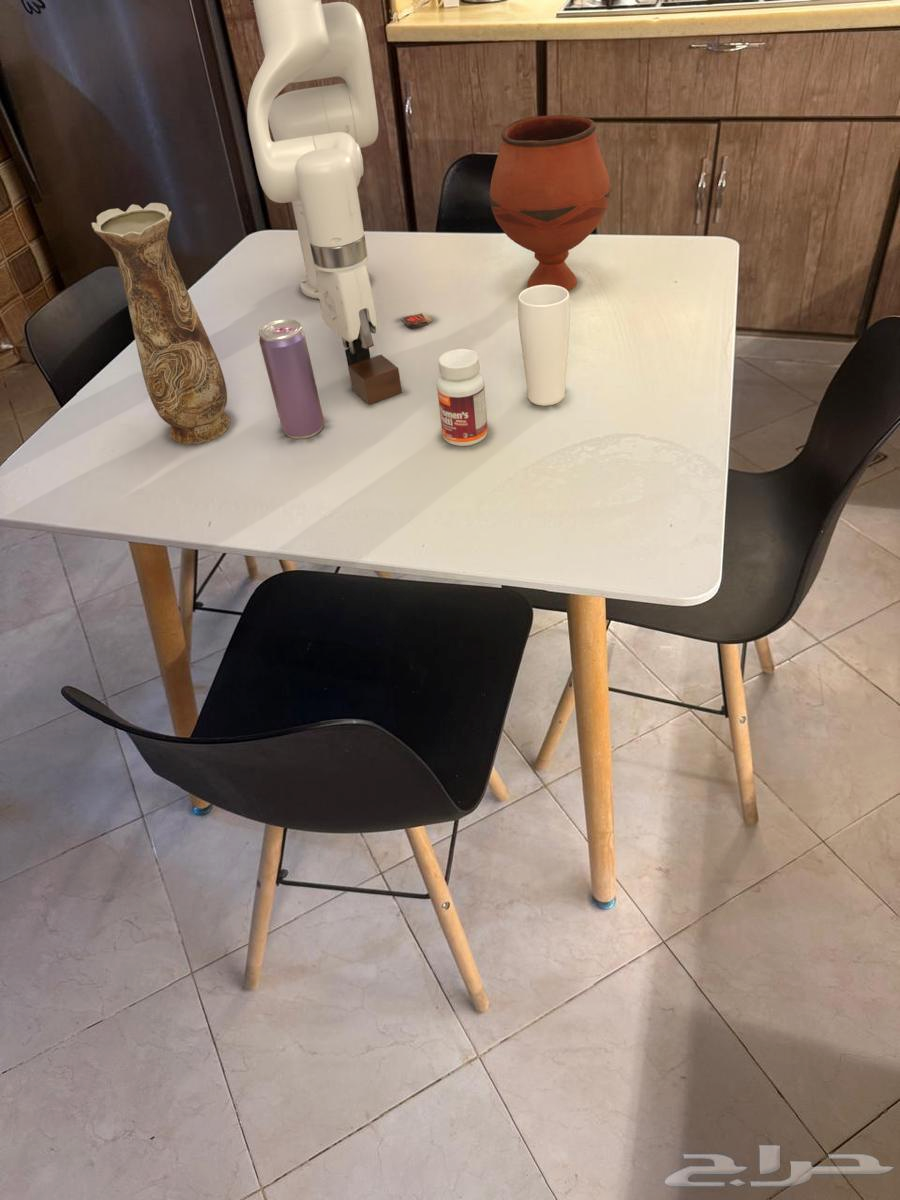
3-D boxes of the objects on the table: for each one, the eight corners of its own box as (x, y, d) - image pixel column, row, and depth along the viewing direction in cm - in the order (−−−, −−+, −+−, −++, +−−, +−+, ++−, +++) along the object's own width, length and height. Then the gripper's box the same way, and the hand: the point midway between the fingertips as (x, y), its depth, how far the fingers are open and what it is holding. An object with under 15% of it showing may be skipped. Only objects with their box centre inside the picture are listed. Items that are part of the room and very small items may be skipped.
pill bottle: (435, 443, 116) (425, 366, 109) (454, 420, 120) (446, 344, 113) (477, 450, 114) (470, 372, 107) (495, 426, 118) (489, 349, 111)
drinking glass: (574, 387, 124) (574, 284, 114) (565, 411, 119) (565, 306, 109) (527, 384, 126) (523, 283, 116) (517, 409, 121) (512, 305, 111)
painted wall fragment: (412, 330, 142) (412, 327, 142) (396, 320, 145) (396, 317, 145) (436, 321, 144) (436, 318, 143) (420, 312, 147) (420, 309, 147)
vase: (229, 403, 130) (166, 193, 110) (243, 436, 123) (178, 218, 103) (160, 421, 128) (83, 211, 108) (170, 456, 121) (89, 237, 100)
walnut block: (352, 390, 130) (347, 366, 127) (385, 378, 131) (381, 354, 129) (368, 405, 126) (364, 380, 123) (402, 392, 128) (398, 367, 125)
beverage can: (317, 441, 120) (294, 339, 110) (277, 440, 121) (250, 339, 111) (330, 418, 124) (308, 318, 114) (291, 417, 125) (266, 318, 115)
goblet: (495, 267, 158) (486, 115, 142) (602, 258, 157) (605, 103, 140) (495, 312, 144) (485, 150, 128) (612, 303, 143) (617, 137, 126)
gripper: (293, 243, 122) (318, 362, 135) (337, 275, 113) (360, 400, 125) (340, 228, 125) (361, 347, 137) (388, 259, 115) (406, 383, 127)
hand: (361, 372), depth 131 cm, fingers closed
